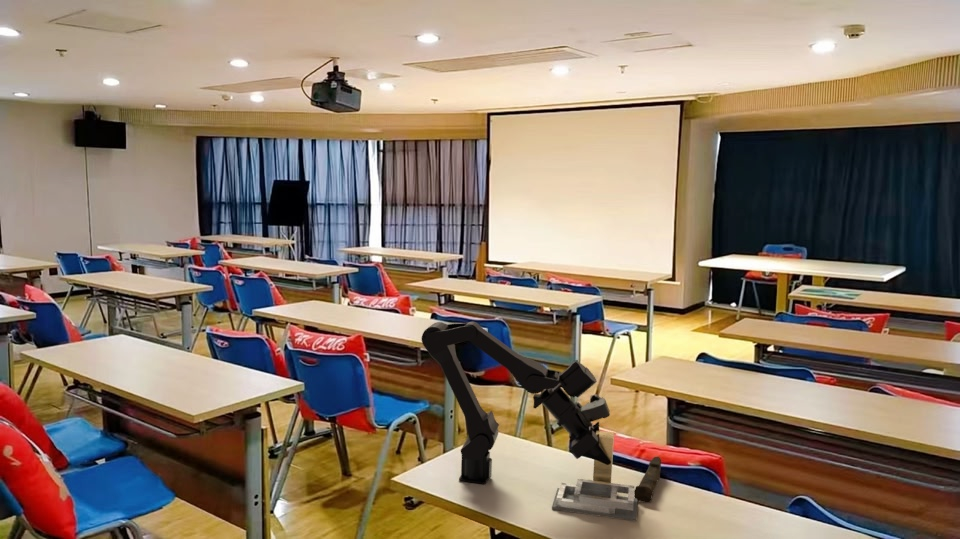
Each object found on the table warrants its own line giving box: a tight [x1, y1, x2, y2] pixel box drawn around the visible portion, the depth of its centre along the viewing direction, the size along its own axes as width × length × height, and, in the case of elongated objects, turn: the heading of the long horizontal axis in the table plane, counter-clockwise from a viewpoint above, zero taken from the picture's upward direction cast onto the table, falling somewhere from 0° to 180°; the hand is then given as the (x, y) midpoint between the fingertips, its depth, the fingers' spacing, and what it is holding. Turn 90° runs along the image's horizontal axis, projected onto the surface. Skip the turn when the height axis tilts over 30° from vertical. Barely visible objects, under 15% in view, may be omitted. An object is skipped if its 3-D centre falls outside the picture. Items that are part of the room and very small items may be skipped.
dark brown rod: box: [634, 456, 662, 503], centre depth 157 cm, size 19×4×5 cm, turn 153°
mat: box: [551, 487, 638, 522], centre depth 147 cm, size 18×10×1 cm, turn 76°
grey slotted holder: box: [556, 478, 635, 515], centre depth 147 cm, size 16×9×3 cm, turn 76°
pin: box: [592, 430, 615, 483], centre depth 154 cm, size 4×4×13 cm
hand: (609, 459), depth 154 cm, fingers closed on pin, 4 cm apart
